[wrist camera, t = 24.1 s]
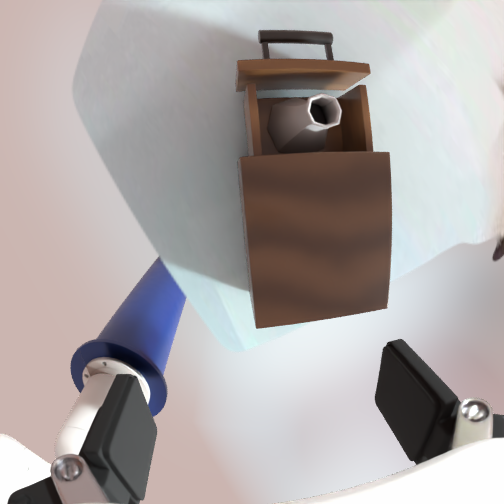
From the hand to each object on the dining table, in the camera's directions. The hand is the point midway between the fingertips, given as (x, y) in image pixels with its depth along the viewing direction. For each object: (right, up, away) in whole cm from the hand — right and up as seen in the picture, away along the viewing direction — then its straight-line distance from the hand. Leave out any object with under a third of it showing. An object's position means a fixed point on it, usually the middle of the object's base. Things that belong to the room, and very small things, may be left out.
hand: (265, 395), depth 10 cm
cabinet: (+6, +9, +27) cm, 29 cm away
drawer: (+5, +21, +23) cm, 31 cm away
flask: (+5, +19, +22) cm, 30 cm away
